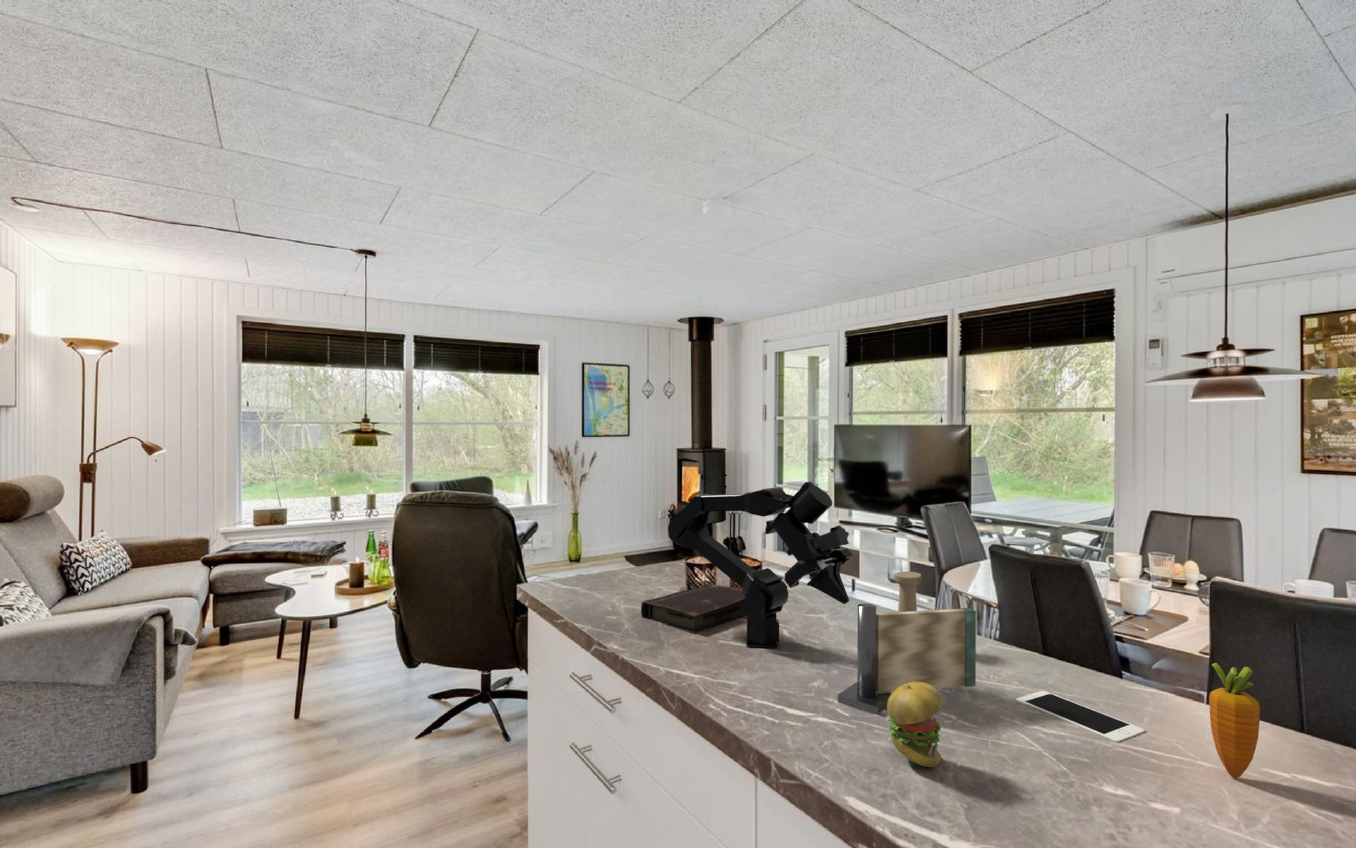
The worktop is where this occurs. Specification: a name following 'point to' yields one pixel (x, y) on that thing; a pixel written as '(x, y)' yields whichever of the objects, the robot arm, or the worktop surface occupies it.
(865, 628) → the hinge post
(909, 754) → the hamburger
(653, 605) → the diary
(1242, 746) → the carrot
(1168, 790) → the worktop surface
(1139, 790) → the worktop surface
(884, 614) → the gate
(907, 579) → the handle
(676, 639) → the worktop surface
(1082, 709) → the cell phone
